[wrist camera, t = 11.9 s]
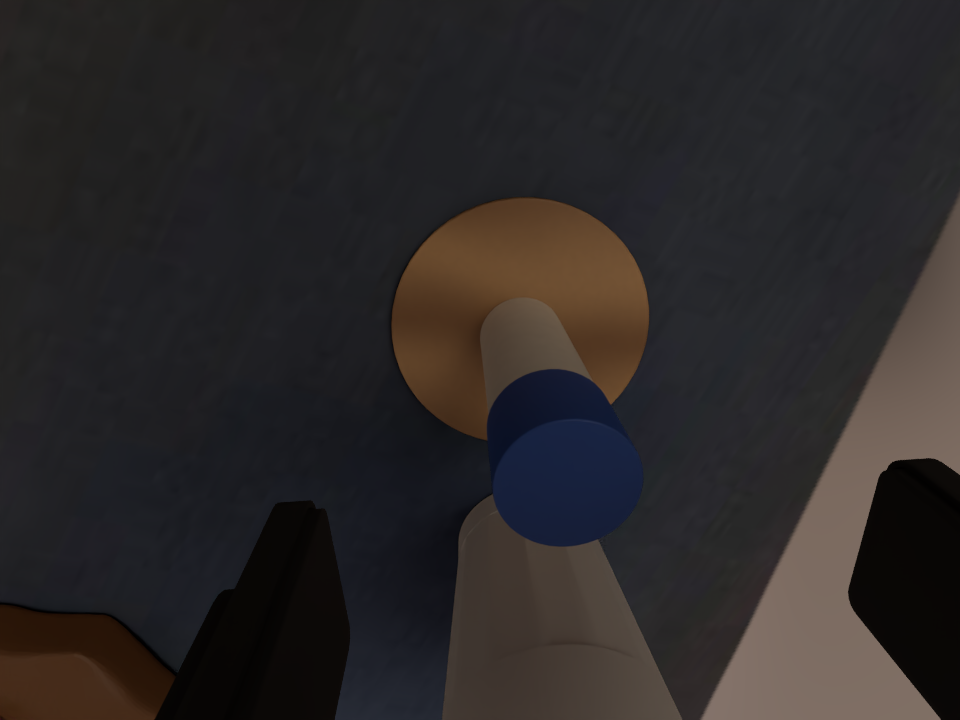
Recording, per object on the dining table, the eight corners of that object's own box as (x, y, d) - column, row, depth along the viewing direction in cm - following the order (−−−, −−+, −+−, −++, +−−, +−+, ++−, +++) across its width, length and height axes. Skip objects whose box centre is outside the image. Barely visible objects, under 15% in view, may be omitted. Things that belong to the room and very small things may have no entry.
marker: (474, 297, 21) (488, 424, 12) (564, 291, 21) (648, 413, 12) (479, 379, 22) (495, 552, 13) (564, 374, 22) (639, 542, 13)
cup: (534, 436, 24) (600, 699, 13) (646, 542, 26) (784, 842, 15) (404, 543, 26) (363, 853, 15) (519, 633, 28) (560, 960, 17)
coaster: (377, 205, 20) (375, 206, 20) (653, 188, 20) (657, 189, 20) (406, 447, 24) (405, 451, 24) (639, 431, 24) (642, 435, 24)
